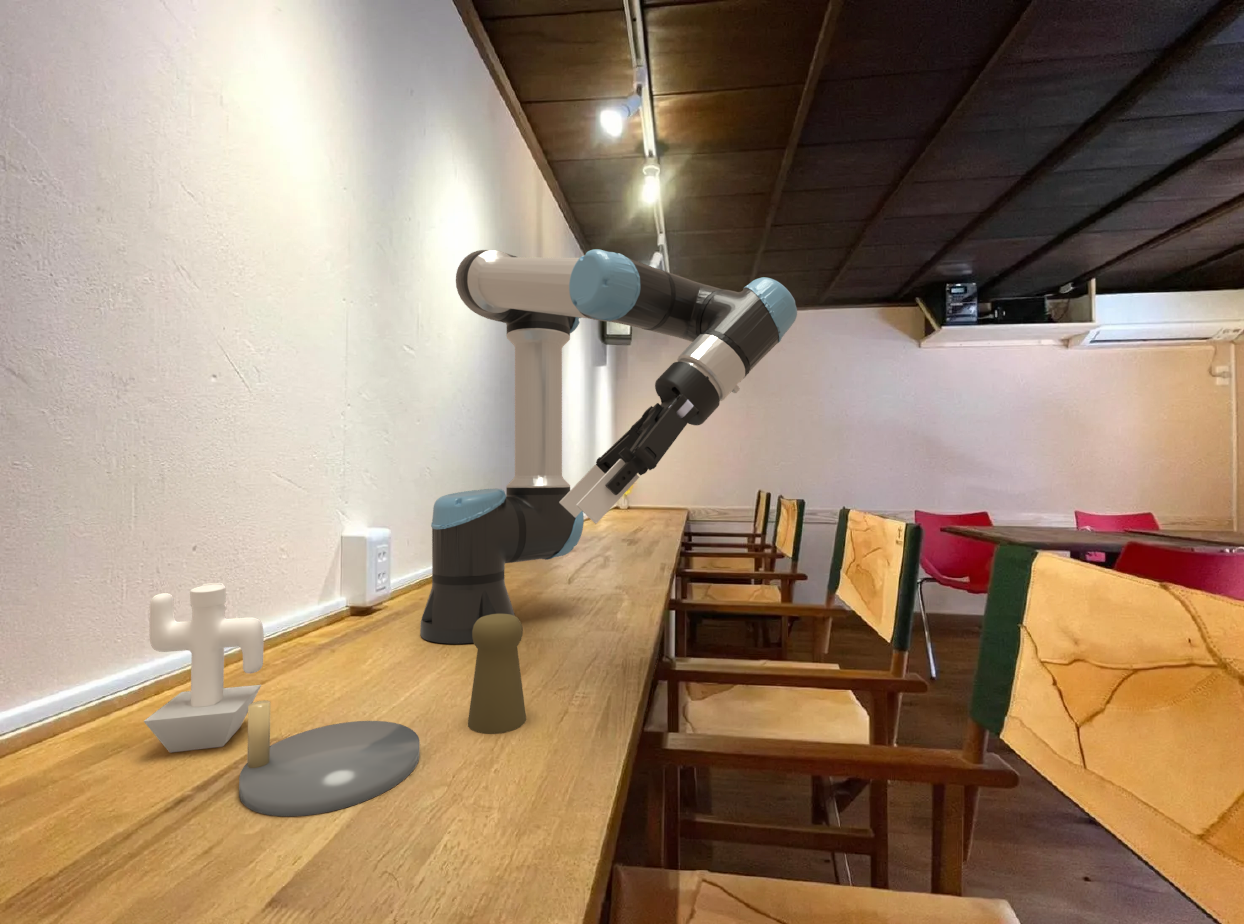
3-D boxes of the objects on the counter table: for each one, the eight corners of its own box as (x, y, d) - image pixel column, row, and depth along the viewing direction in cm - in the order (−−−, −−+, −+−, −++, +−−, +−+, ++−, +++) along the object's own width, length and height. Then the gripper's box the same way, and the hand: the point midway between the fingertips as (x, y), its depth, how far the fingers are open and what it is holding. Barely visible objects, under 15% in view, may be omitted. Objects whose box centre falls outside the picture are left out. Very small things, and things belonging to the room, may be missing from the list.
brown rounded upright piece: (513, 736, 56) (513, 624, 56) (456, 731, 57) (457, 621, 58) (534, 711, 62) (534, 610, 62) (483, 707, 63) (483, 607, 63)
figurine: (248, 749, 53) (250, 589, 54) (128, 763, 51) (131, 595, 51) (272, 718, 60) (274, 576, 61) (168, 729, 58) (170, 581, 58)
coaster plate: (312, 729, 58) (313, 668, 58) (444, 736, 56) (445, 672, 56) (194, 810, 44) (195, 728, 44) (366, 822, 42) (366, 737, 42)
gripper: (769, 386, 56) (625, 545, 52) (684, 417, 80) (581, 527, 76) (718, 330, 55) (567, 488, 51) (647, 379, 79) (540, 489, 75)
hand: (575, 512), depth 64 cm, fingers open, 13 cm apart
